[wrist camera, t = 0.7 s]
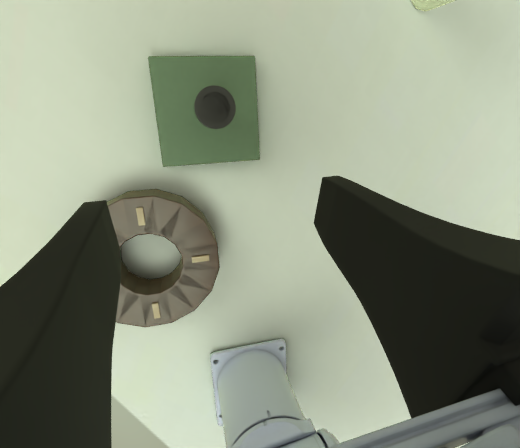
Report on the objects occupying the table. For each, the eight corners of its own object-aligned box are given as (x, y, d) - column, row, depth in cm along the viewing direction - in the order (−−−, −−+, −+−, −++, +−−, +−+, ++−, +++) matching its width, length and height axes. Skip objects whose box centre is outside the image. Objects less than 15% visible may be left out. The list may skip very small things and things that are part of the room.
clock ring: (220, 297, 31) (224, 315, 28) (96, 317, 29) (87, 338, 26) (209, 184, 28) (212, 190, 25) (69, 196, 26) (54, 205, 23)
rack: (256, 158, 28) (278, 166, 22) (163, 165, 27) (158, 176, 20) (251, 58, 26) (274, 36, 20) (149, 59, 24) (138, 35, 18)
